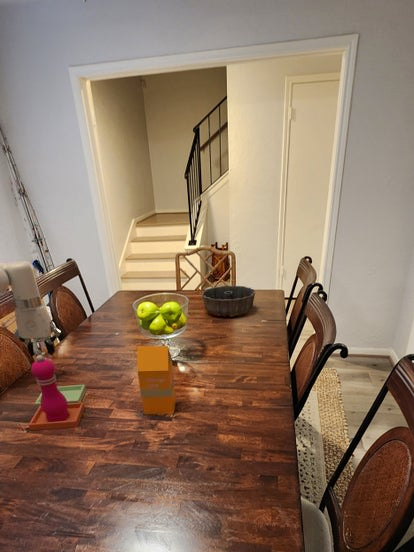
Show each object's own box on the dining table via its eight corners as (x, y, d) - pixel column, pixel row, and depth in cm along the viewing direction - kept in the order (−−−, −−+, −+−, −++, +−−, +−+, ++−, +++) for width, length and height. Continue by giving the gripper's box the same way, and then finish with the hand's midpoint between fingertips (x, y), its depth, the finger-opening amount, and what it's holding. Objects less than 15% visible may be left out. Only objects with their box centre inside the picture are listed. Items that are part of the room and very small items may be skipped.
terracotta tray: (30, 430, 105) (28, 424, 104) (41, 410, 113) (39, 405, 112) (77, 427, 105) (75, 421, 104) (85, 407, 114) (83, 402, 113)
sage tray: (36, 409, 114) (34, 403, 113) (46, 392, 123) (44, 387, 122) (79, 405, 115) (77, 400, 114) (86, 389, 124) (84, 384, 123)
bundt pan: (200, 305, 196) (199, 286, 191) (249, 302, 198) (249, 283, 193) (205, 322, 174) (204, 301, 168) (260, 318, 175) (261, 297, 170)
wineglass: (42, 377, 128) (33, 344, 122) (36, 371, 132) (27, 340, 125) (59, 371, 131) (50, 340, 125) (52, 366, 135) (44, 335, 129)
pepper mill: (64, 407, 113) (46, 347, 103) (75, 416, 109) (57, 354, 98) (41, 417, 109) (20, 355, 99) (51, 427, 105) (31, 363, 94)
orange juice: (148, 400, 116) (139, 341, 105) (176, 400, 115) (170, 340, 105) (144, 414, 109) (133, 352, 99) (173, 414, 109) (166, 351, 98)
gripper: (-4, 307, 115) (13, 360, 124) (52, 304, 116) (65, 357, 125) (6, 300, 121) (21, 351, 131) (59, 298, 122) (71, 348, 131)
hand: (42, 353), depth 128 cm, fingers closed on wineglass, 5 cm apart
